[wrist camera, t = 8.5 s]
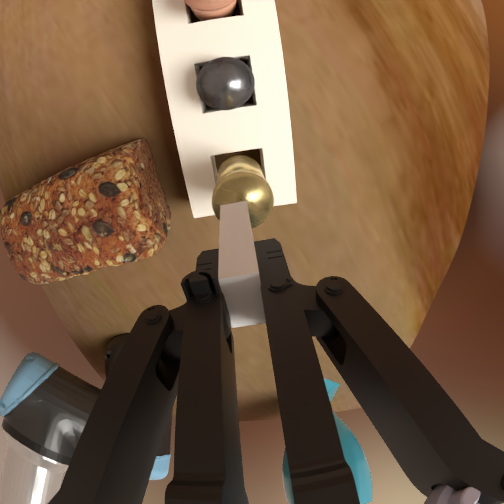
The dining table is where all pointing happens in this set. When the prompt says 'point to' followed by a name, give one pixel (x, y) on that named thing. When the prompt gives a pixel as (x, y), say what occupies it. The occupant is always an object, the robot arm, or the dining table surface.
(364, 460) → the vase
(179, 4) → the slab
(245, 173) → the brass plug
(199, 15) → the terracotta plug
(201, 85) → the grey plug
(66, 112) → the dining table surface
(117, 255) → the bread
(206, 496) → the robot arm
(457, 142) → the dining table surface
